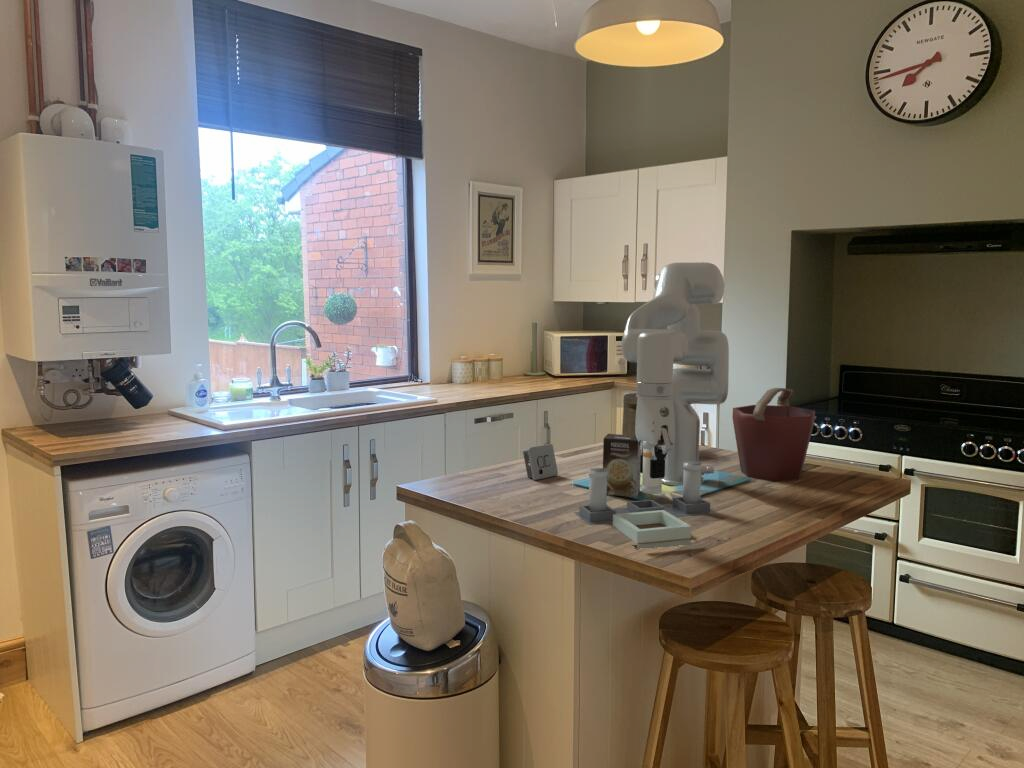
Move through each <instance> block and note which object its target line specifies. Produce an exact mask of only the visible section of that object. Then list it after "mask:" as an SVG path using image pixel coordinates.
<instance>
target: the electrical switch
mask: <svg viewBox="0 0 1024 768" xmlns="http://www.w3.org/2000/svg"><path fill="white" fill-rule="evenodd" d="M522 454H523V459H524V465H525V469H526V476H527V479H531V478H532V480H533V481H537V480H538V481H539V480H542V479H543V480H544V479H547V478H552V477H556V476H558V474H559V472H558V466H557V460H556V455H555V451H554V444H553V443H547V444H539V445H536V446H529V447H527V449H526V450H523V451H522Z"/></svg>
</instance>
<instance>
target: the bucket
mask: <svg viewBox="0 0 1024 768" xmlns="http://www.w3.org/2000/svg"><path fill="white" fill-rule="evenodd" d="M780 392H781V393H780ZM793 392H794V390H793V389H792V388H786V387H785V388H783V387H773V388H770V389H767V391H766V392H765V393H764V394H763V395H762V396H761V398H760V399H759V400H757V402H756V404H751V405H744V406H738V407H732V422H733V423H732V424H733V429H734V430H733V431H734V436H735V437H734V438H735V442H736V449H737V454H738V455H737V456H738V461H739V467H740V471H741V472H742V473H743V474H744V476H746V477H747V478H751V479H758V480H765V481H770V482H784V481H785V482H786V481H798V480H799V479H800V477H801V476H802V473H803V469H804V466H805V461H806V457H807V453H808V449H809V444H810V440H811V437H812V433H813V429H814V425H815V417H816V416H815V415H816V411H815V410H811V409H805V408H800V407H796V406H791V405H790V403H789V398H790V397H791V396H792V394H793ZM778 393H780V395H779V396H778V397H777V403H776V405H770V403H771V402H772V400H773V399H774V398H775V396H776V395H777V394H778Z"/></svg>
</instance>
